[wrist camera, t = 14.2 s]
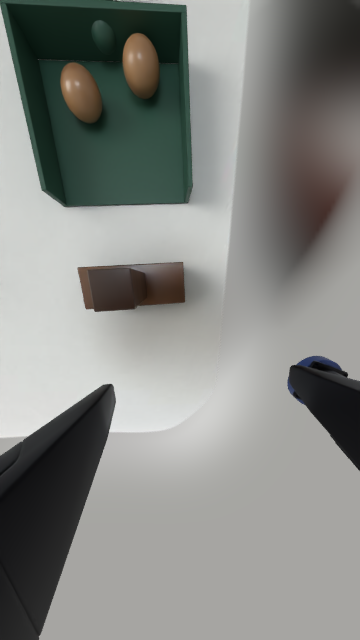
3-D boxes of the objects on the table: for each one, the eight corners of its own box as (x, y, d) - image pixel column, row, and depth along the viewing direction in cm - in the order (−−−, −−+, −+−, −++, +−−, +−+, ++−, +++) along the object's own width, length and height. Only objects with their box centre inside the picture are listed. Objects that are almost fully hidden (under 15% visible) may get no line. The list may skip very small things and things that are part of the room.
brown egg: (109, 118, 14) (110, 100, 15) (76, 60, 11) (80, 43, 12) (84, 138, 15) (86, 120, 16) (48, 90, 13) (54, 71, 13)
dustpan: (187, 203, 18) (192, 187, 15) (64, 206, 17) (41, 190, 14) (175, -94, 13) (178, -211, 10) (0, -111, 12) (-57, -246, 9)
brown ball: (166, 51, 12) (166, 101, 15) (146, 10, 12) (150, 69, 15) (130, 68, 12) (138, 115, 15) (109, 27, 12) (121, 83, 15)
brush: (180, 264, 19) (196, 248, 9) (182, 299, 20) (198, 317, 10) (91, 269, 19) (8, 257, 9) (98, 304, 20) (29, 330, 10)
